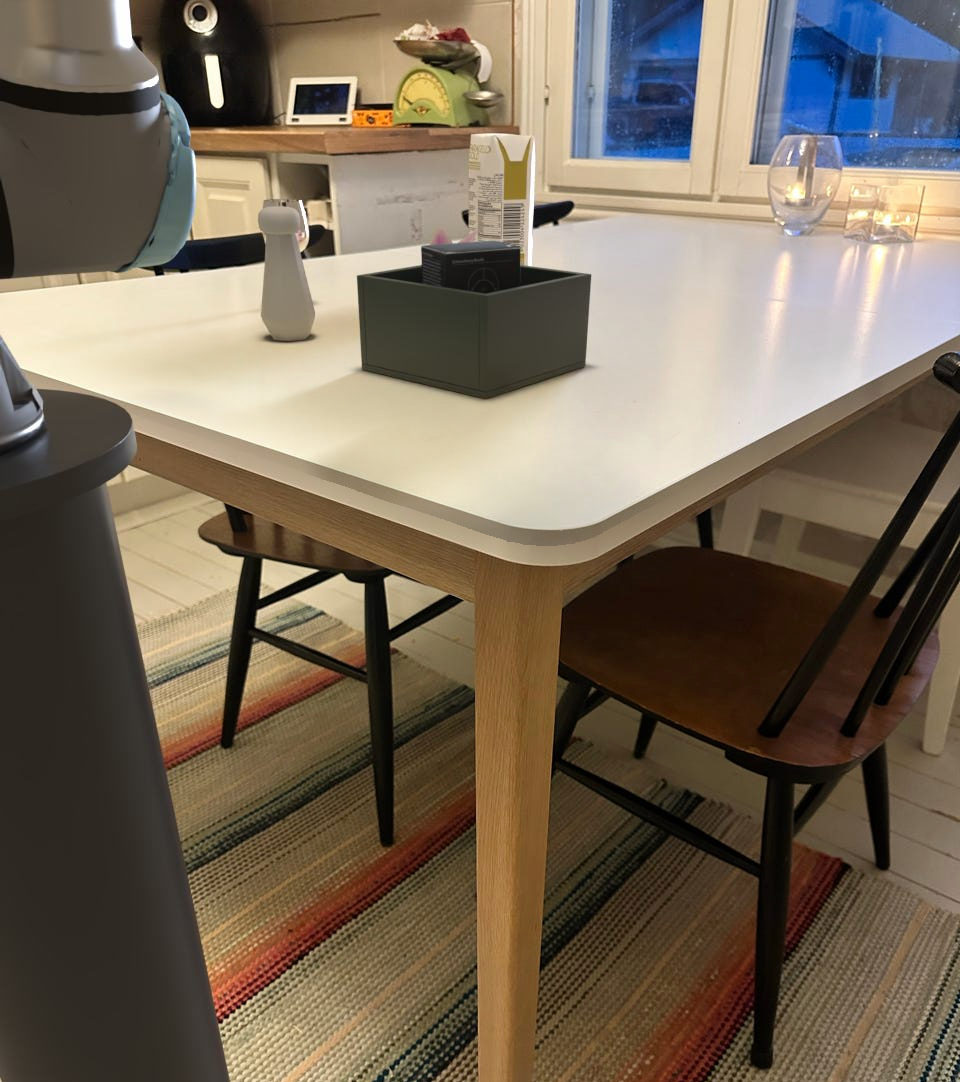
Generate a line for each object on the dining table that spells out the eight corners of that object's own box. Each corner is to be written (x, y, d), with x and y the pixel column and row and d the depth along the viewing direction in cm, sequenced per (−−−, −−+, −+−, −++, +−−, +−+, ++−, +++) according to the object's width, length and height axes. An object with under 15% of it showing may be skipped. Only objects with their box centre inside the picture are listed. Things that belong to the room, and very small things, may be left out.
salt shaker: (324, 339, 100) (314, 208, 93) (274, 345, 97) (260, 210, 91) (305, 329, 104) (294, 203, 98) (256, 334, 102) (242, 205, 95)
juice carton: (488, 292, 126) (490, 135, 117) (463, 282, 133) (463, 133, 124) (536, 288, 129) (542, 134, 120) (509, 279, 136) (513, 133, 126)
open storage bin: (361, 369, 89) (356, 275, 85) (465, 342, 99) (465, 257, 95) (486, 399, 80) (487, 295, 76) (585, 366, 91) (591, 274, 86)
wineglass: (267, 300, 120) (257, 198, 113) (311, 298, 121) (303, 198, 115) (271, 308, 115) (260, 203, 109) (317, 306, 116) (309, 202, 110)
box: (492, 351, 93) (494, 239, 88) (519, 364, 89) (523, 246, 83) (422, 359, 90) (419, 243, 85) (446, 372, 86) (445, 251, 80)
